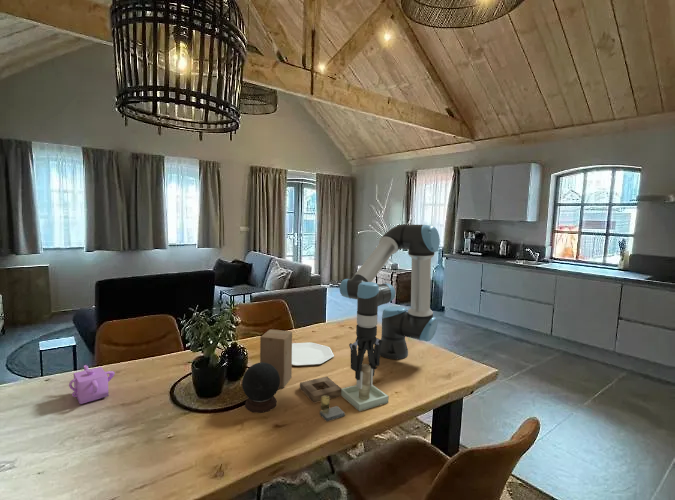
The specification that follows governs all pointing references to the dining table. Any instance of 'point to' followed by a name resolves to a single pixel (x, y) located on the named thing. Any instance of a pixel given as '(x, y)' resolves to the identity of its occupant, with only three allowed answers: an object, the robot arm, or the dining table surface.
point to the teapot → (90, 384)
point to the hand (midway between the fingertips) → (364, 385)
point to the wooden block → (278, 353)
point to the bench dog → (325, 402)
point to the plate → (310, 354)
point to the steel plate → (332, 413)
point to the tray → (374, 400)
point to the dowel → (365, 382)
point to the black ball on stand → (261, 387)
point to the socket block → (312, 386)
